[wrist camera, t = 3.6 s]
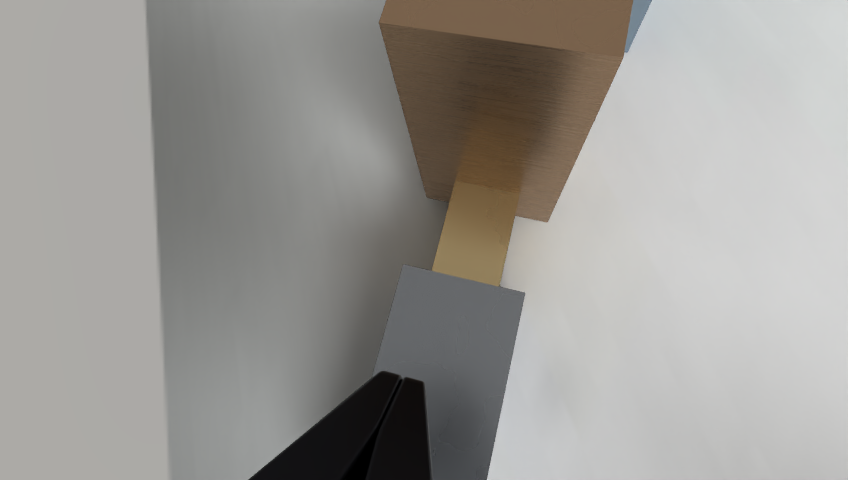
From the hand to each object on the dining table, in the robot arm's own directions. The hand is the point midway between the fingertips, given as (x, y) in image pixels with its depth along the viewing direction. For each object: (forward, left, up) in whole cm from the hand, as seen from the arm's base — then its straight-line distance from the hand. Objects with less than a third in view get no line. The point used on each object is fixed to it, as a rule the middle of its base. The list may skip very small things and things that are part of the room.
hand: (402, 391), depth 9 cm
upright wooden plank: (+5, +3, -11) cm, 13 cm away
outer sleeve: (-1, -1, -12) cm, 12 cm away
